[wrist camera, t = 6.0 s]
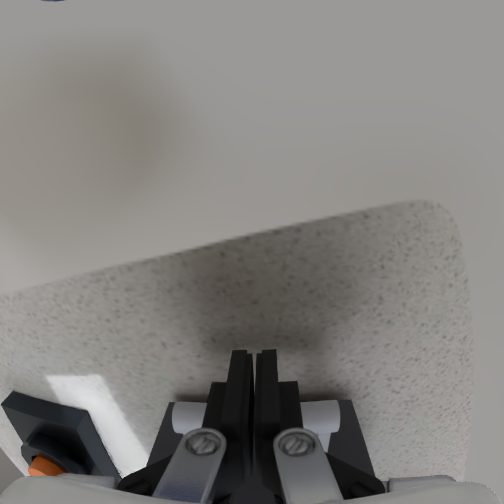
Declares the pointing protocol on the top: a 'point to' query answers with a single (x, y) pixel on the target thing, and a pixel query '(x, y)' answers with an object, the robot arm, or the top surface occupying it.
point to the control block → (58, 436)
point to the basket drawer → (253, 492)
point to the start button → (43, 468)
